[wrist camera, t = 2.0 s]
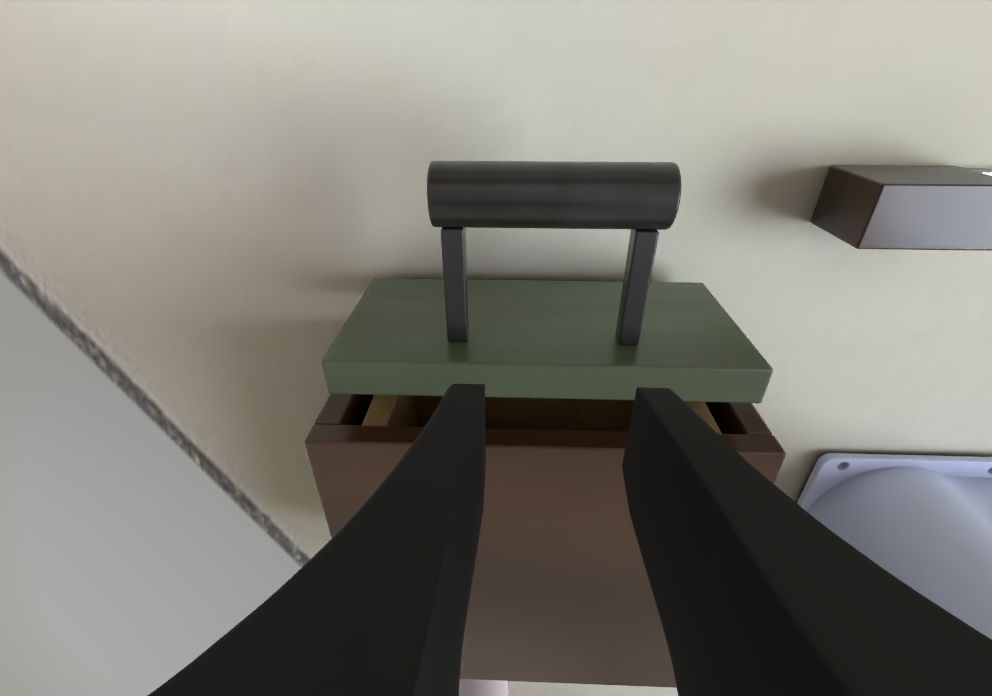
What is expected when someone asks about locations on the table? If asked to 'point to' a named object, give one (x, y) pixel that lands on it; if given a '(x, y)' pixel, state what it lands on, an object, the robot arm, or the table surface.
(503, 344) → the drawer
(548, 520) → the cabinet
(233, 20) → the table surface
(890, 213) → the knife
